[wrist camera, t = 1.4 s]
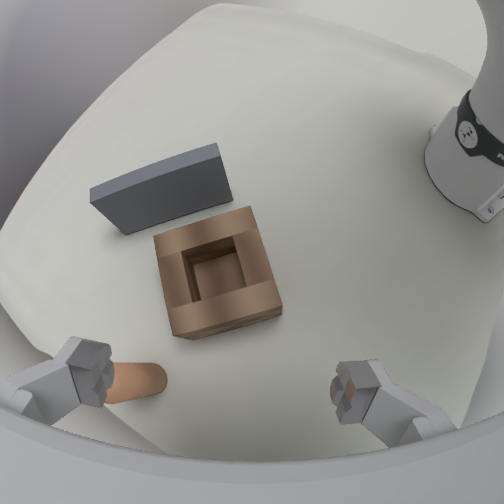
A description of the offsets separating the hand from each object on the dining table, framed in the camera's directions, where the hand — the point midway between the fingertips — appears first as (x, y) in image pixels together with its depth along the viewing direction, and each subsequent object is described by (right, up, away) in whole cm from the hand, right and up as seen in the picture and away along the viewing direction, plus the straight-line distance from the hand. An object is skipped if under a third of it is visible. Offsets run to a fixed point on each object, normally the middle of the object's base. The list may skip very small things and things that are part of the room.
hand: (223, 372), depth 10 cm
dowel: (-11, -11, +24) cm, 29 cm away
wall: (-9, +10, +31) cm, 34 cm away
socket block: (-2, 0, +27) cm, 27 cm away
